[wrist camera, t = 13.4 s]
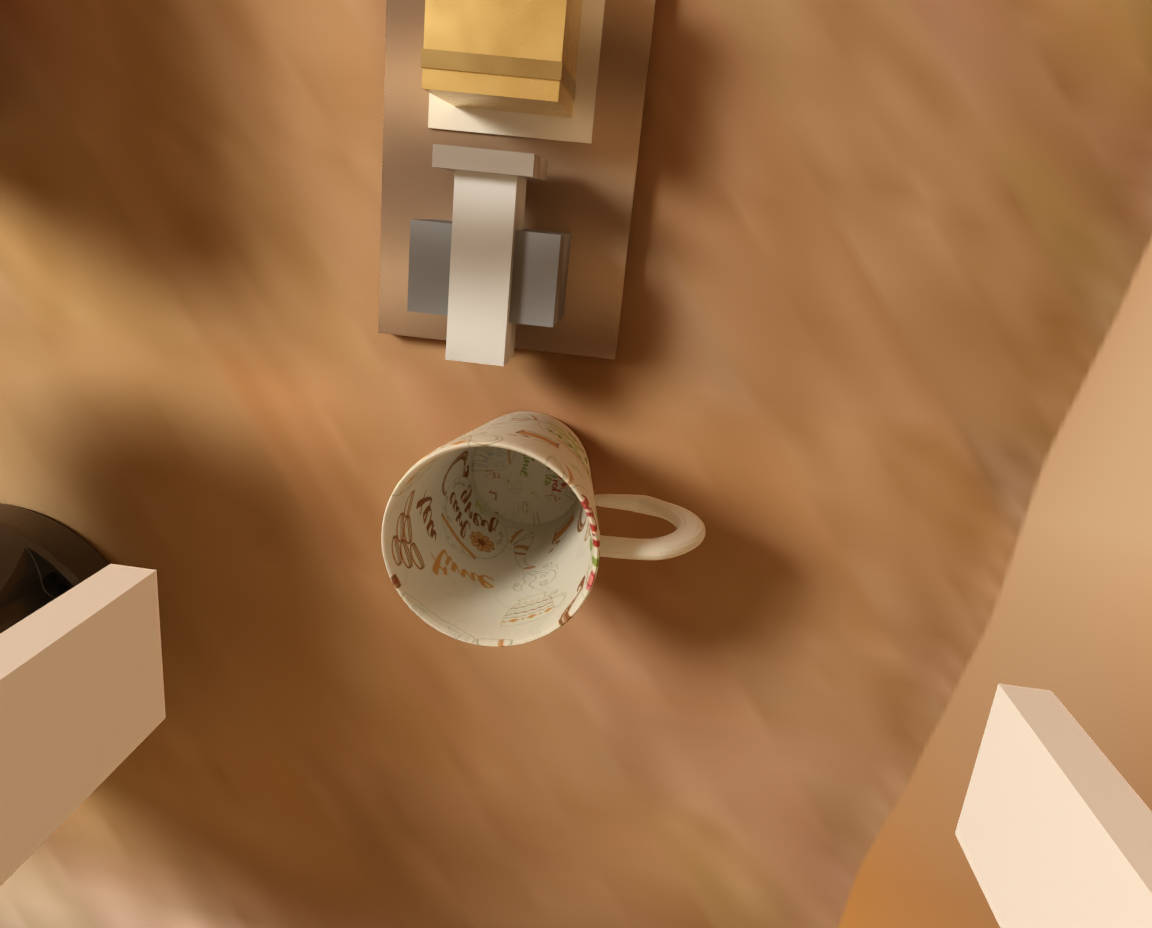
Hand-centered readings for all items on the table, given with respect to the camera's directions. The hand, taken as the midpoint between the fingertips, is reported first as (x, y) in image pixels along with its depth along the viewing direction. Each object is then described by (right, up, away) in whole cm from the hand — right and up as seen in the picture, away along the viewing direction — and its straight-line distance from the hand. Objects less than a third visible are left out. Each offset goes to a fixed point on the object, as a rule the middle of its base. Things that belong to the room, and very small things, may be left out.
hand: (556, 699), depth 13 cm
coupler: (-2, +21, +21) cm, 30 cm away
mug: (0, +3, +27) cm, 27 cm away
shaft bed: (-2, +22, +22) cm, 31 cm away
